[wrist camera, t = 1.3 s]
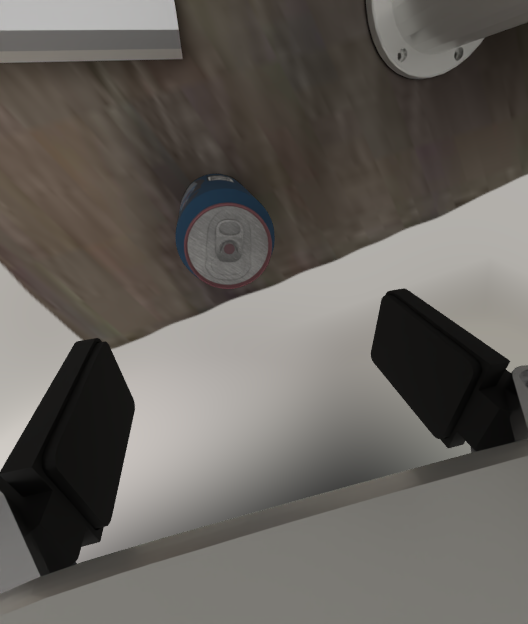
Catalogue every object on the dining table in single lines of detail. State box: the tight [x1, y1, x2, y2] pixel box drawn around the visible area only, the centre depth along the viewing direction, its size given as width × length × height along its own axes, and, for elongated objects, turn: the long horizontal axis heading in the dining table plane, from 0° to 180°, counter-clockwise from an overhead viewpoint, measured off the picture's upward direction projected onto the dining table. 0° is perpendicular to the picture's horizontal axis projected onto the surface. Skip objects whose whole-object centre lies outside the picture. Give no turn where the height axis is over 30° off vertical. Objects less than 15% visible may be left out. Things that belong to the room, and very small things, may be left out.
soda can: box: [176, 174, 274, 289], centre depth 23 cm, size 7×7×12 cm
